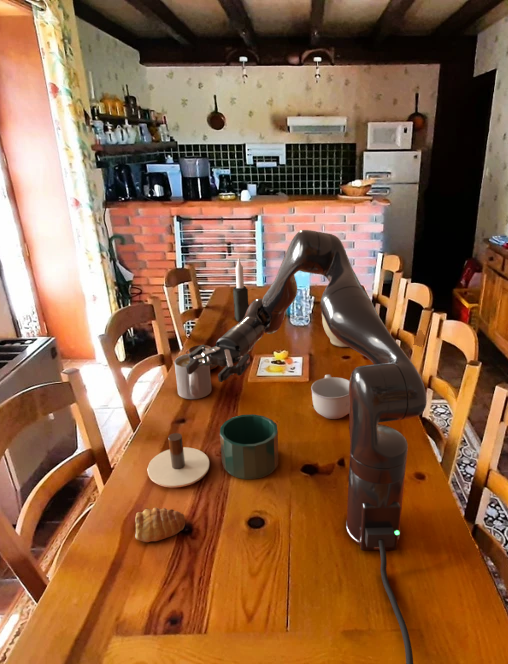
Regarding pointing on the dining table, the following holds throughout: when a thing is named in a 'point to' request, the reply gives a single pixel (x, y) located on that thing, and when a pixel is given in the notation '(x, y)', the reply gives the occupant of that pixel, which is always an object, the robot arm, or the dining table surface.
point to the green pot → (249, 446)
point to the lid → (178, 464)
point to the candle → (240, 294)
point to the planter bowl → (331, 336)
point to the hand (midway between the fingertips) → (203, 374)
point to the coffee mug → (192, 379)
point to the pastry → (158, 524)
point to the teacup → (331, 397)
